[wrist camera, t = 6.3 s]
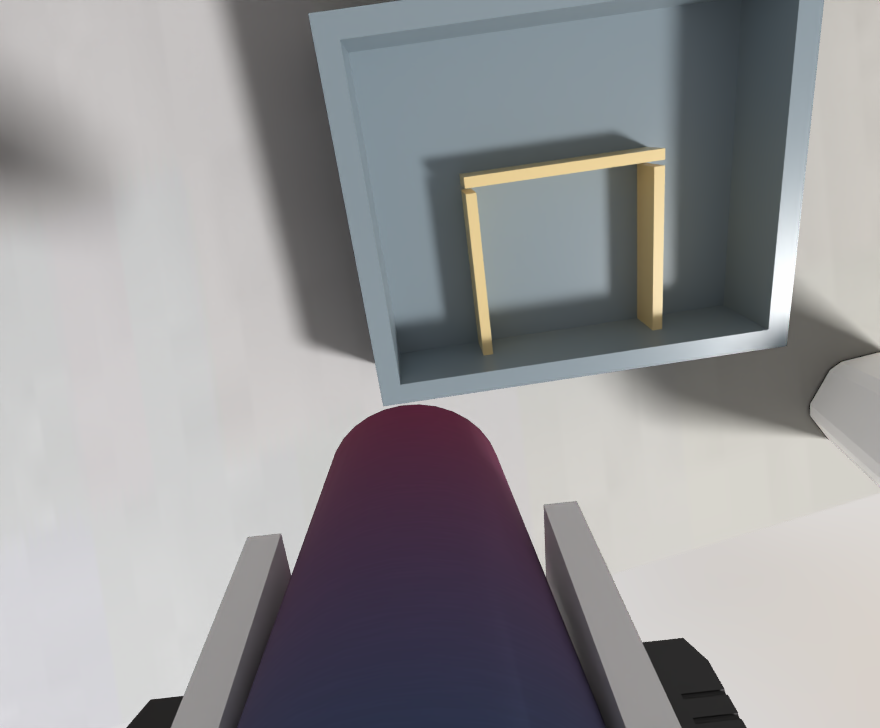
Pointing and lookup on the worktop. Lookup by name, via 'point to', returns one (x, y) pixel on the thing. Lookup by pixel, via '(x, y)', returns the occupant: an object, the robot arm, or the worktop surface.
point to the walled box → (568, 181)
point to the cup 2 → (852, 411)
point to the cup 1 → (418, 596)
